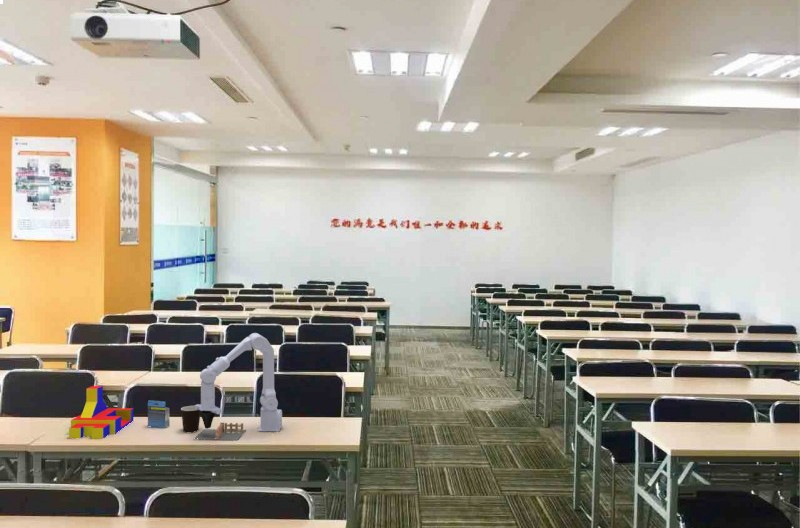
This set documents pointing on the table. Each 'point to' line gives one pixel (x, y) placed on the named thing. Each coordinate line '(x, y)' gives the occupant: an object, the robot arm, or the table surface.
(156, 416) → the label tape box
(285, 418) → the table surface
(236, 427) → the fixed fence
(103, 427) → the building blocks toy
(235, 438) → the mat
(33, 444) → the table surface
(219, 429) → the fence panel
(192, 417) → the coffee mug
